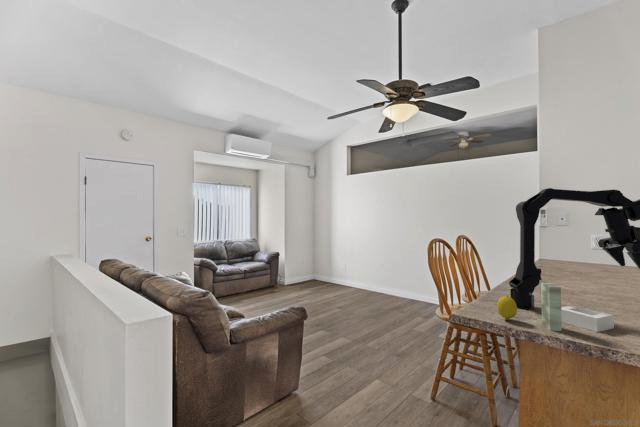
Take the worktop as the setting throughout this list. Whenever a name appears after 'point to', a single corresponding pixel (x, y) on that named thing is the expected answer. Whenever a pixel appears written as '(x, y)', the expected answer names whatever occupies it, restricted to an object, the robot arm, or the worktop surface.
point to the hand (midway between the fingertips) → (632, 268)
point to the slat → (551, 306)
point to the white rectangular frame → (587, 318)
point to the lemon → (507, 307)
